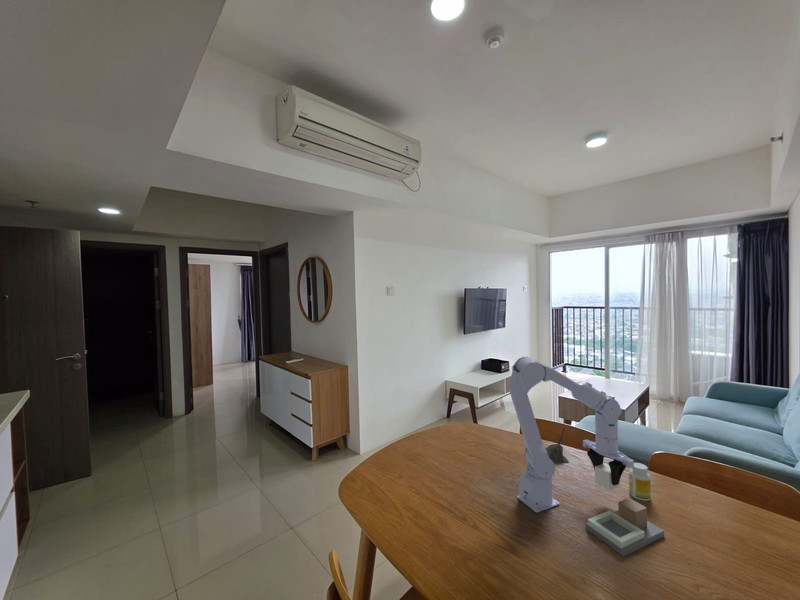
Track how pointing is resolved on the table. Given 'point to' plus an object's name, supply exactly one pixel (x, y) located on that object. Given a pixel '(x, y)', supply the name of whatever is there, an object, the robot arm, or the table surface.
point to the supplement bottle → (640, 482)
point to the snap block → (604, 476)
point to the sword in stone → (556, 452)
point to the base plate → (625, 527)
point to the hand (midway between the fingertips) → (607, 479)
